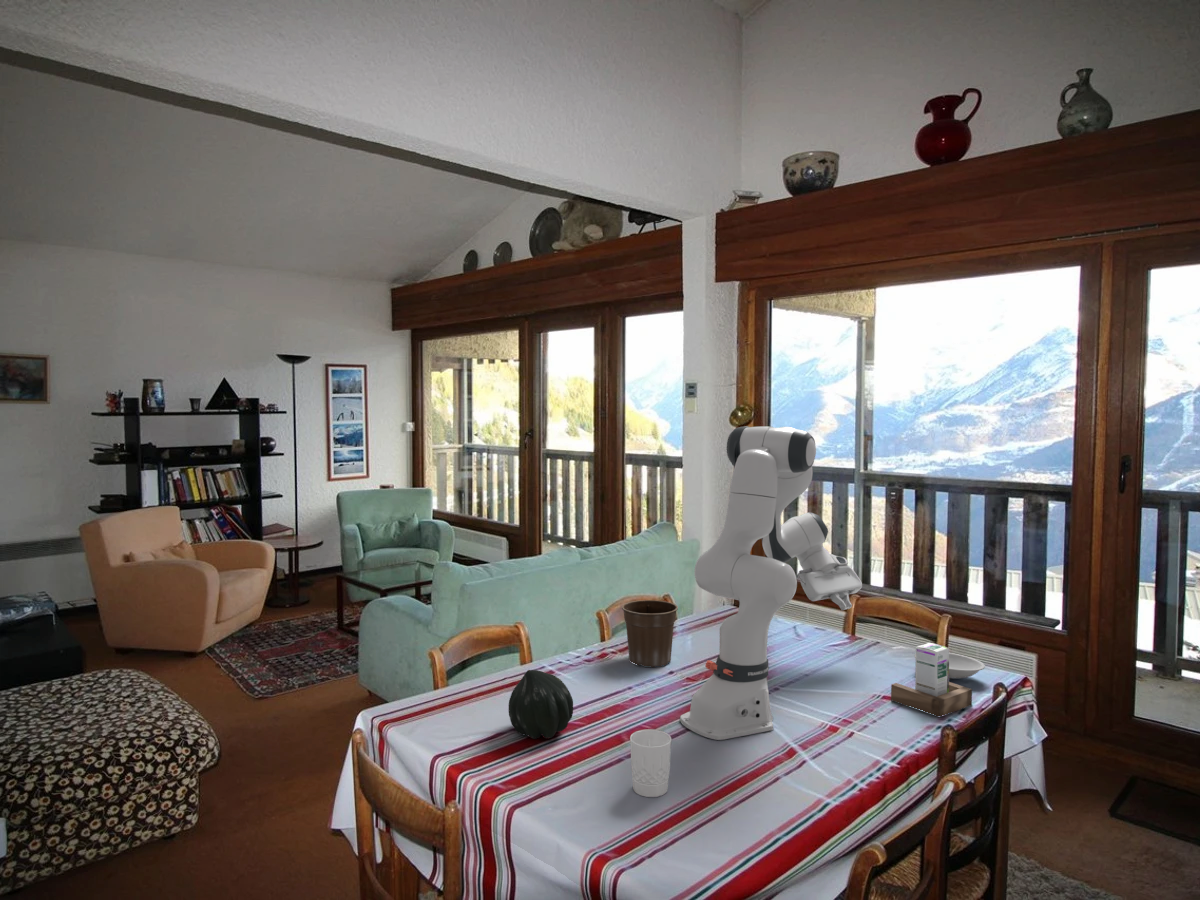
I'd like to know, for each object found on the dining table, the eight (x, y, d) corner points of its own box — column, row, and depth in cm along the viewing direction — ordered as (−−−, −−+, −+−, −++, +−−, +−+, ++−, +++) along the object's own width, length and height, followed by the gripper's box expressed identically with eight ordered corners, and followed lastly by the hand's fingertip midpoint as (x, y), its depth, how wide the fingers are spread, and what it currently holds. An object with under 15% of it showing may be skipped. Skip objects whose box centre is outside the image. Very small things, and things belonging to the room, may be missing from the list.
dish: (907, 678, 204) (907, 660, 204) (922, 664, 215) (922, 647, 215) (977, 693, 193) (978, 674, 193) (989, 678, 204) (990, 660, 204)
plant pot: (612, 656, 221) (612, 602, 220) (659, 649, 228) (660, 597, 227) (637, 673, 207) (638, 616, 206) (687, 665, 213) (688, 610, 213)
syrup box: (936, 710, 182) (937, 651, 181) (913, 702, 187) (915, 645, 186) (948, 705, 185) (950, 647, 185) (926, 697, 190) (928, 641, 189)
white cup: (668, 778, 147) (668, 728, 147) (673, 799, 140) (673, 746, 139) (628, 779, 147) (628, 729, 147) (631, 799, 139) (631, 747, 139)
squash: (595, 705, 170) (558, 650, 174) (559, 732, 157) (519, 672, 161) (557, 735, 176) (522, 681, 180) (519, 763, 163) (482, 704, 167)
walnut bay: (938, 717, 177) (939, 701, 177) (890, 700, 188) (891, 684, 188) (971, 705, 185) (972, 689, 185) (923, 688, 196) (924, 673, 196)
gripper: (801, 564, 207) (829, 607, 199) (849, 557, 218) (877, 597, 211) (789, 577, 211) (815, 619, 203) (836, 569, 222) (863, 609, 215)
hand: (847, 608), depth 207 cm, fingers closed
